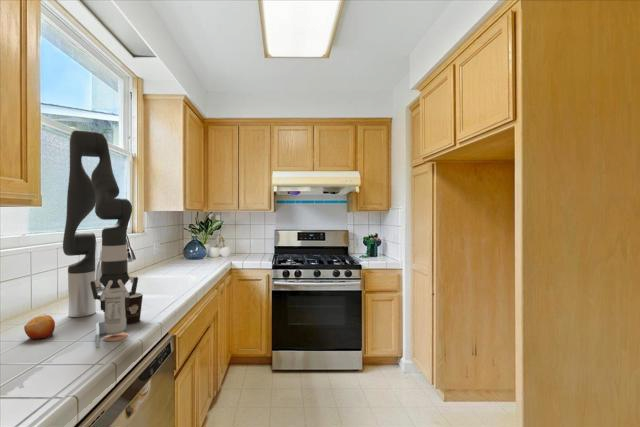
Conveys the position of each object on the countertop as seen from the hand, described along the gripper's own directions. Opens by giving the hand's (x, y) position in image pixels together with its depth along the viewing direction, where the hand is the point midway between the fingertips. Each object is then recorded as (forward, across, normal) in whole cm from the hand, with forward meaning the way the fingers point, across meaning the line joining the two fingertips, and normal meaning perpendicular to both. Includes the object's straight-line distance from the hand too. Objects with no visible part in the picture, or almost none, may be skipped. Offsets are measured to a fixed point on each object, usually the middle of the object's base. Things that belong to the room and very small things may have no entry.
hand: (115, 309), depth 117 cm
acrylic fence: (+9, +1, 0) cm, 9 cm away
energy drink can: (+8, 0, 0) cm, 8 cm away
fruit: (+9, +21, -14) cm, 27 cm away
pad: (+9, 0, 0) cm, 9 cm away
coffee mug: (+9, -4, -16) cm, 19 cm away
